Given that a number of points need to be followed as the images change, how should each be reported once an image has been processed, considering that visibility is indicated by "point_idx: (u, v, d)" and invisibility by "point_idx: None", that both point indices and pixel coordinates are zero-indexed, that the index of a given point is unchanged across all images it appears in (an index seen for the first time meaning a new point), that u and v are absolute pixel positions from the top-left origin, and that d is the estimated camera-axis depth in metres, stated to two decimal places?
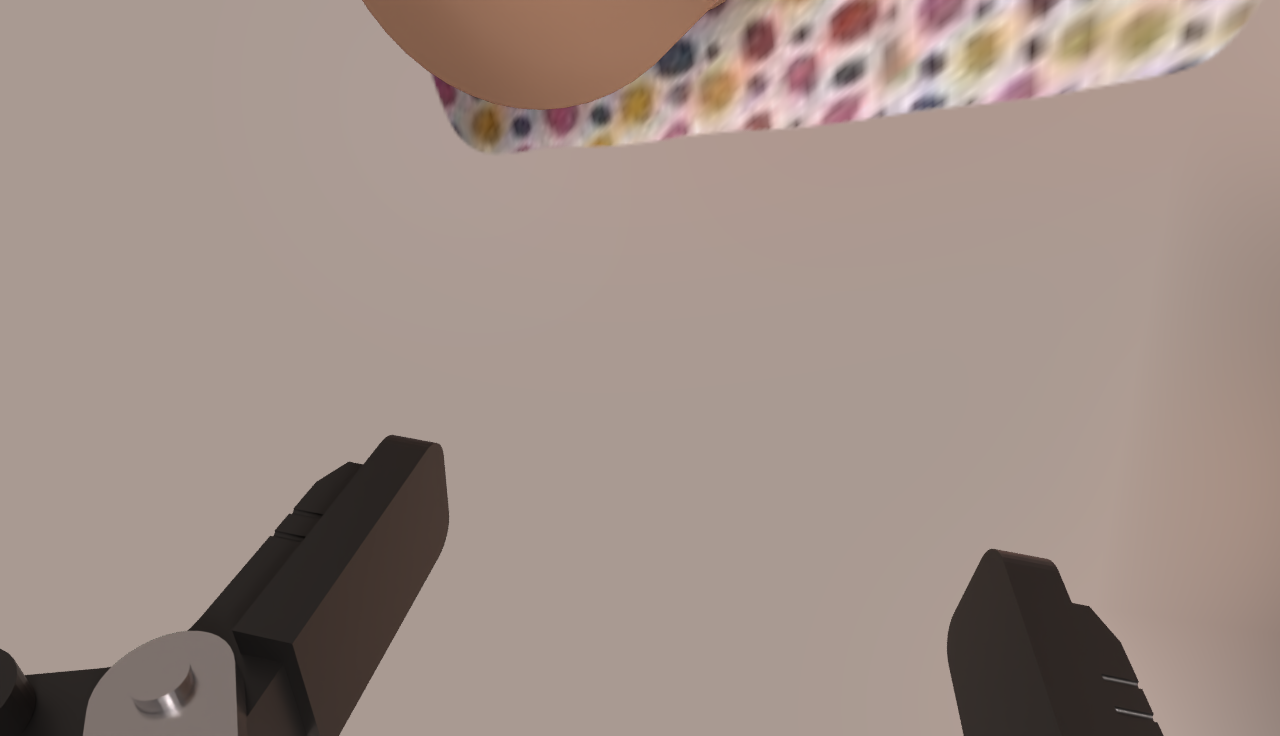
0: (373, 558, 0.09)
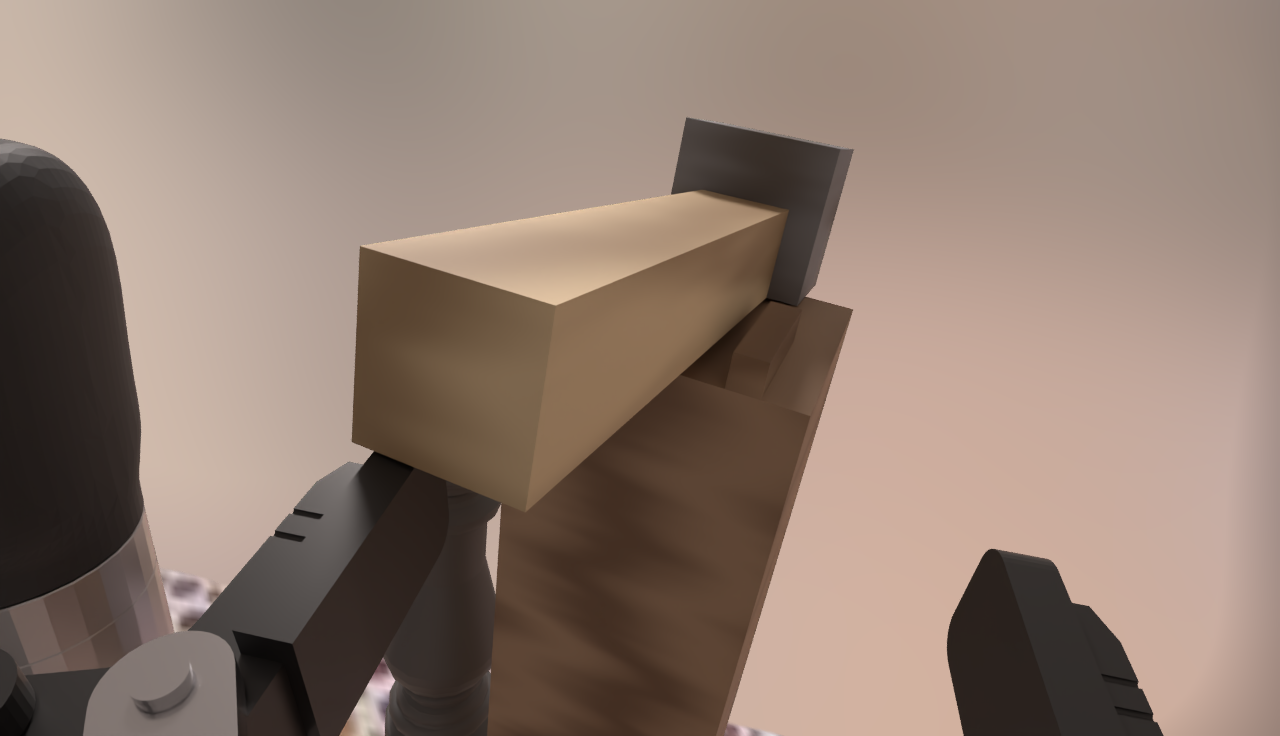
0: (373, 558, 0.09)
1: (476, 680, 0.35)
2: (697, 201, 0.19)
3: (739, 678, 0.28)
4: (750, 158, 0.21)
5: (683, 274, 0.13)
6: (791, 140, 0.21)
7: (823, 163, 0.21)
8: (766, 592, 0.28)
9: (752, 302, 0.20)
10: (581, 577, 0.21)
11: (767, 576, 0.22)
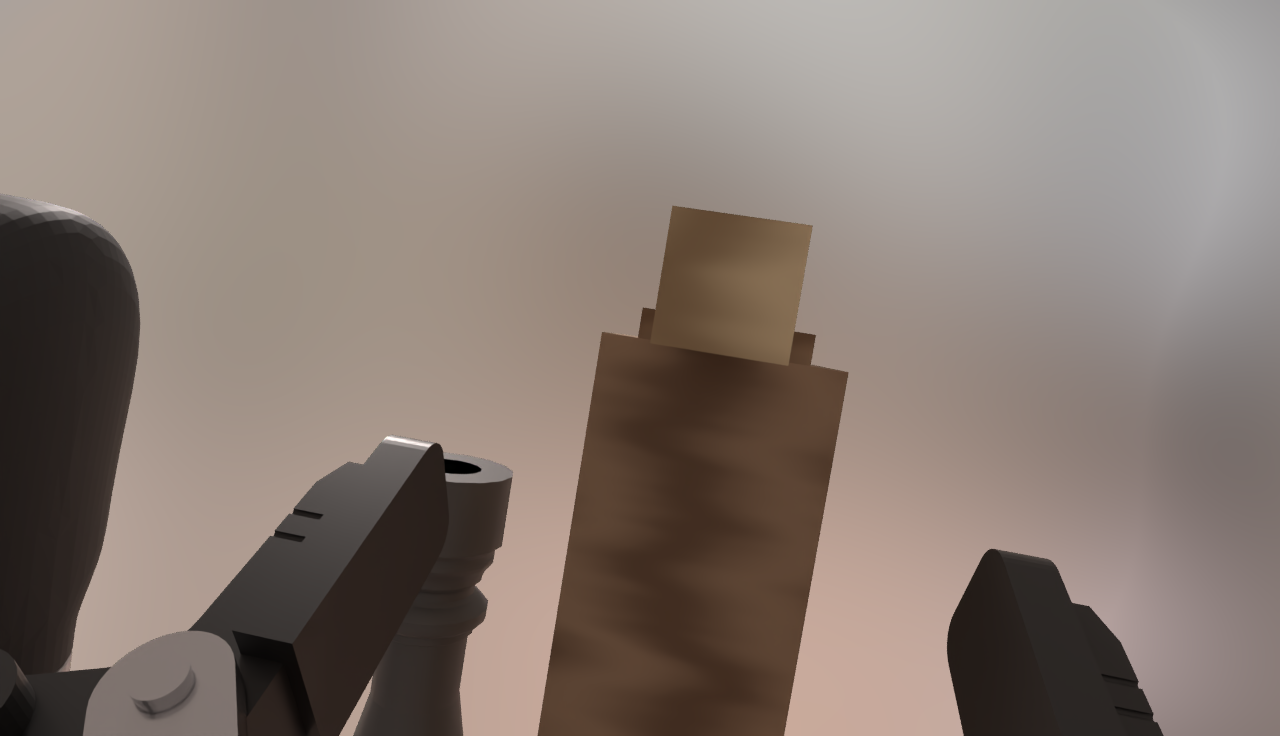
0: (373, 558, 0.09)
1: None
2: None
3: None
4: None
5: None
6: None
7: None
8: None
9: None
10: (651, 574, 0.23)
11: None
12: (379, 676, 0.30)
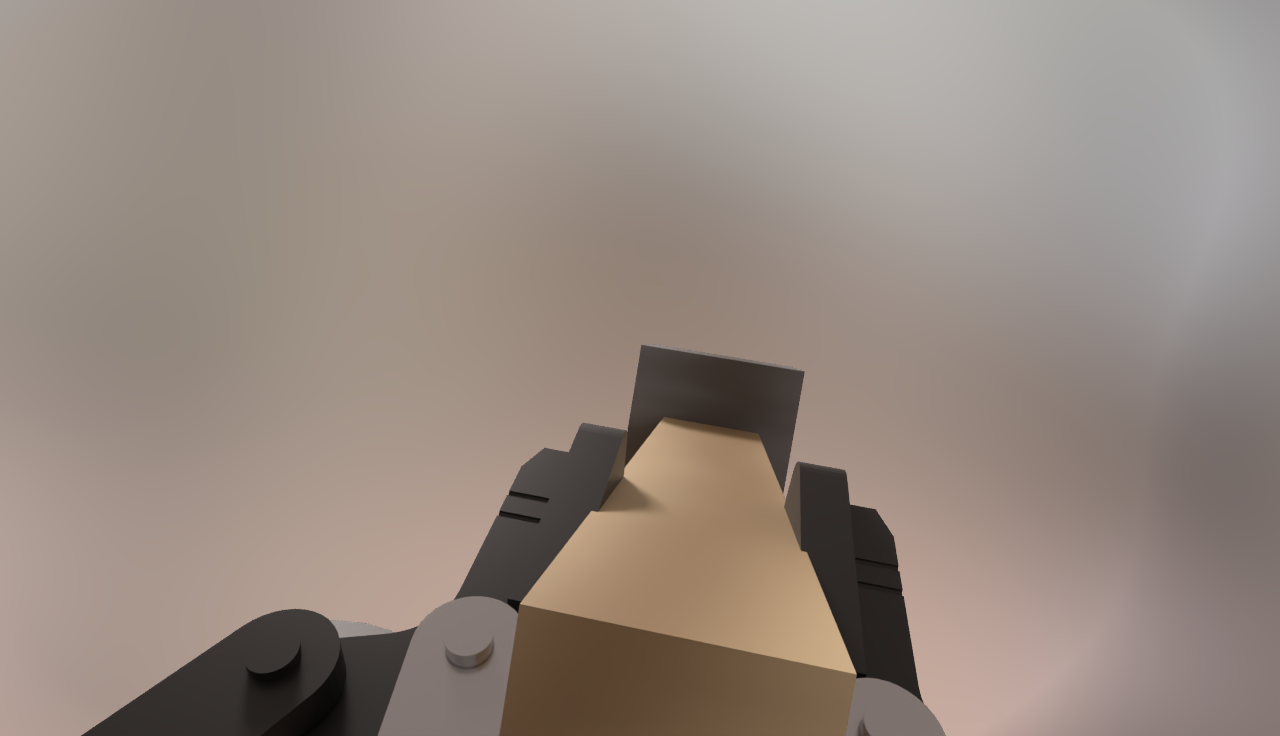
0: None
1: None
2: (684, 435, 0.18)
3: None
4: (712, 384, 0.21)
5: None
6: (754, 364, 0.20)
7: (789, 386, 0.20)
8: None
9: None
10: None
11: None
12: None
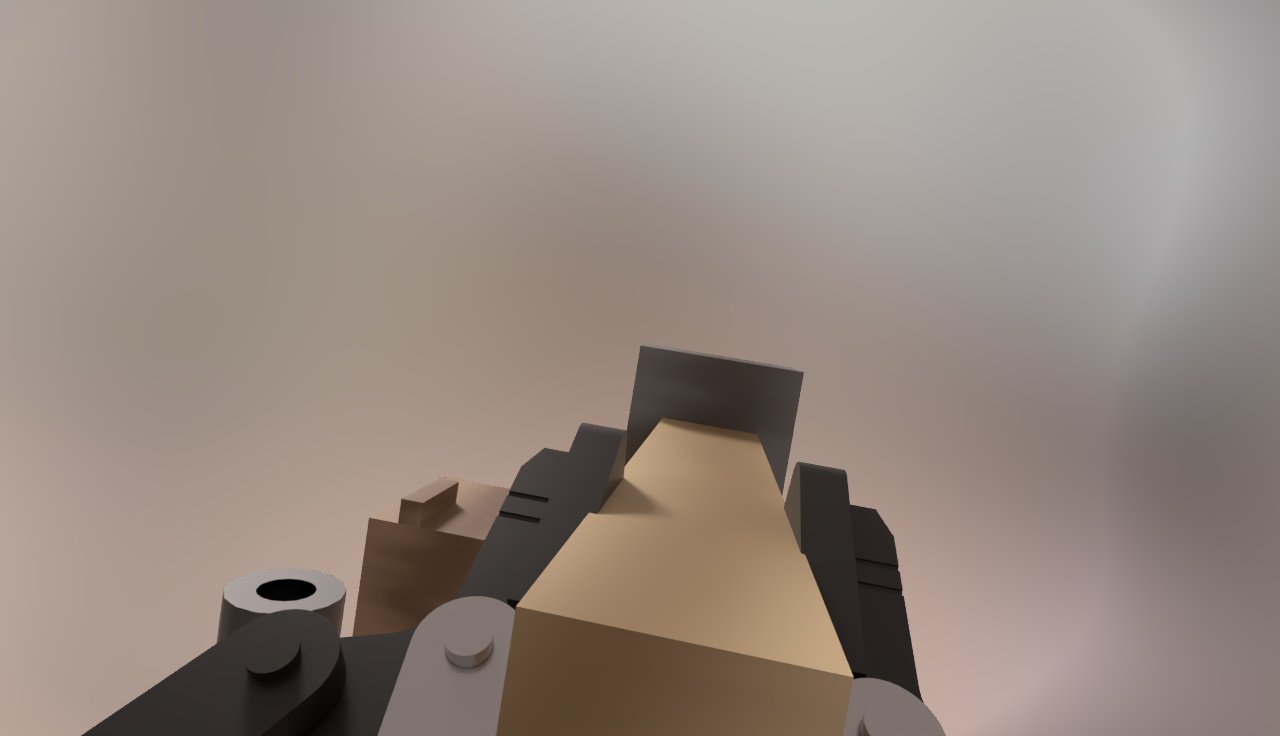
0: None
1: None
2: (683, 436, 0.18)
3: None
4: (712, 384, 0.21)
5: None
6: (753, 365, 0.20)
7: (788, 386, 0.20)
8: None
9: None
10: None
11: None
12: None
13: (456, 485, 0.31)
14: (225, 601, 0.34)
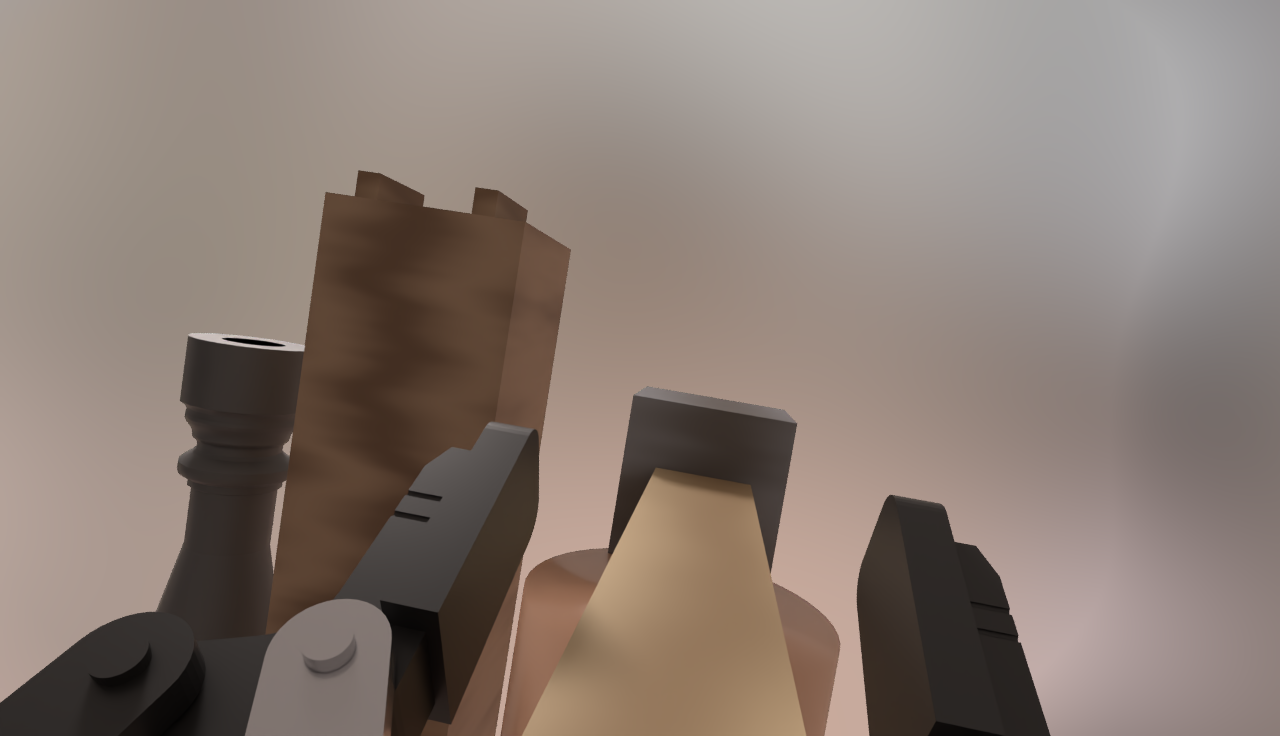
0: (490, 537, 0.09)
1: None
2: (675, 495, 0.18)
3: None
4: (704, 435, 0.21)
5: None
6: (746, 416, 0.20)
7: (781, 437, 0.20)
8: None
9: None
10: (368, 399, 0.27)
11: (518, 413, 0.30)
12: (188, 524, 0.34)
13: (421, 197, 0.31)
14: (189, 338, 0.33)
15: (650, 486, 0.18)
